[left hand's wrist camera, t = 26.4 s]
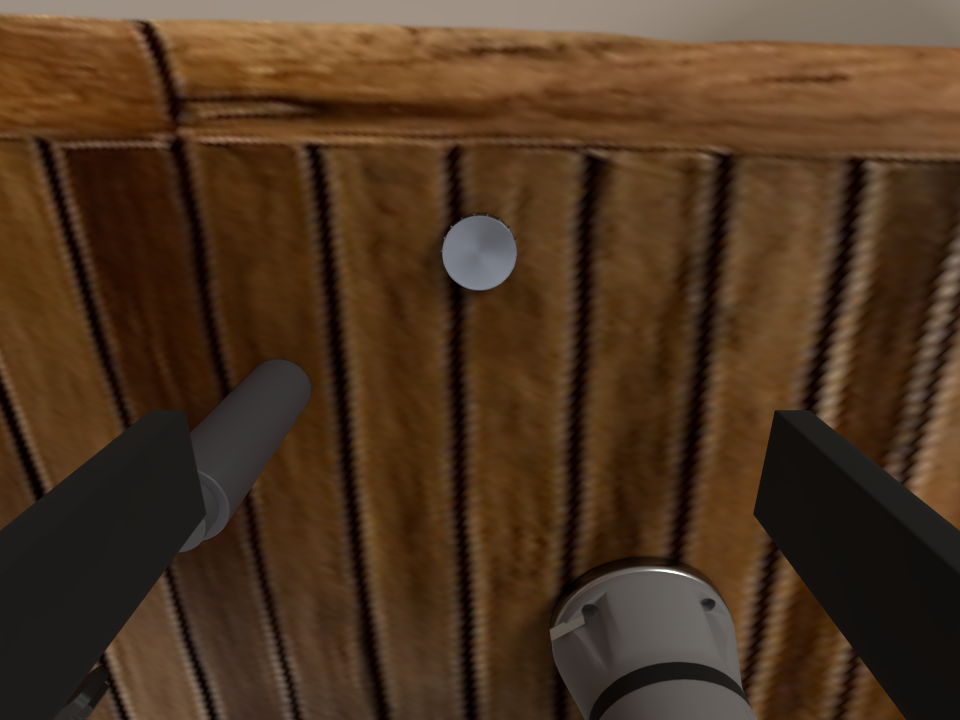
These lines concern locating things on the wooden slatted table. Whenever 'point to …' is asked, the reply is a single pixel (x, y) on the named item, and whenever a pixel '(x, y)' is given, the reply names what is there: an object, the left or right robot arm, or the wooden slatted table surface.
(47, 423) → the wooden slatted table surface
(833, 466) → the left robot arm
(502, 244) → the lid
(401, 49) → the wooden slatted table surface
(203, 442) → the dark grey cylinder
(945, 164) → the wooden slatted table surface
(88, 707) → the right robot arm
